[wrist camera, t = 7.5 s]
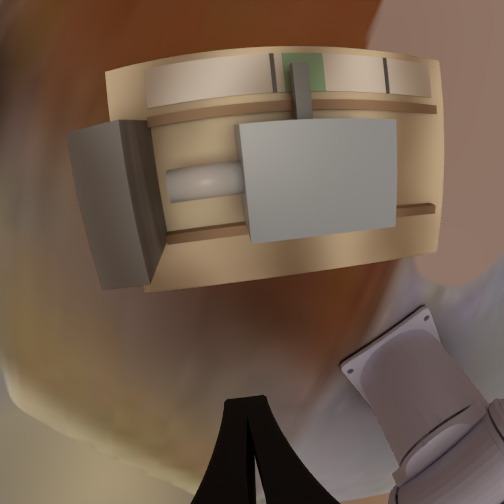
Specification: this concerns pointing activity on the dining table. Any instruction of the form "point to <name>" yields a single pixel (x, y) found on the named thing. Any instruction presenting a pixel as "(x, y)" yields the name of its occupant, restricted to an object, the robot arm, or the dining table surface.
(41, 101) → the dining table surface
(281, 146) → the gauge carriage
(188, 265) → the scale board
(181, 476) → the dining table surface
